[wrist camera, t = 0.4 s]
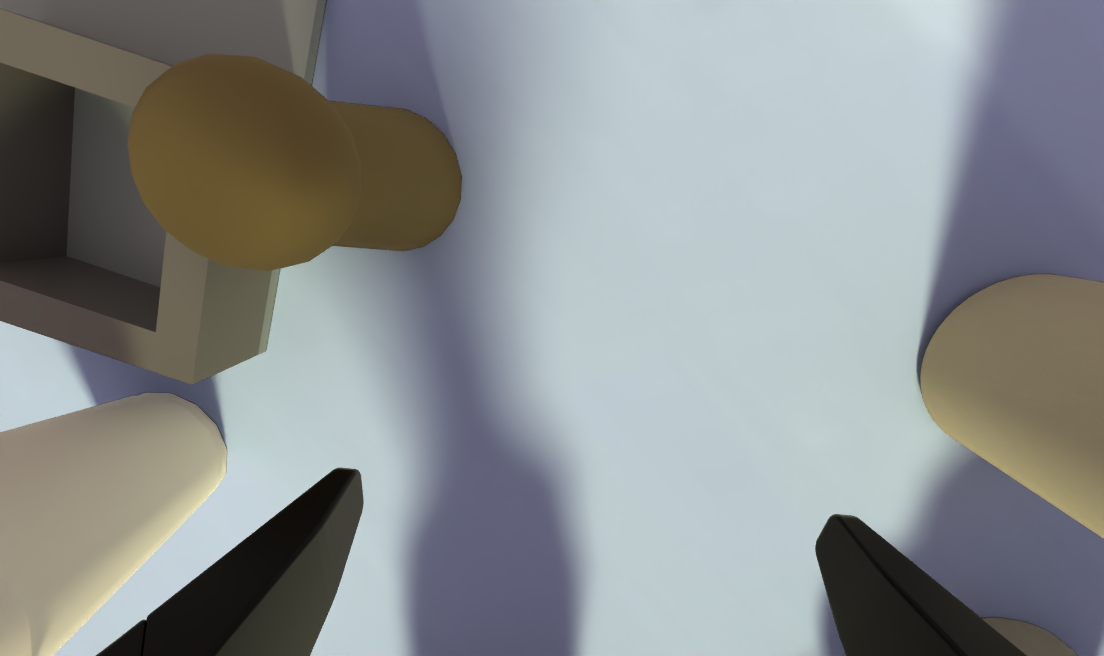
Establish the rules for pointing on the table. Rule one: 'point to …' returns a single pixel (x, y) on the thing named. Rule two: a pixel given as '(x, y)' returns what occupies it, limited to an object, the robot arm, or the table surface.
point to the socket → (122, 179)
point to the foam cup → (94, 508)
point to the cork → (284, 166)
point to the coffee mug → (1030, 638)
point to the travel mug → (1027, 386)
